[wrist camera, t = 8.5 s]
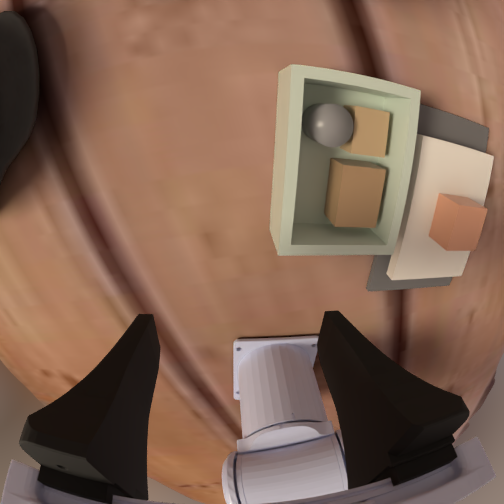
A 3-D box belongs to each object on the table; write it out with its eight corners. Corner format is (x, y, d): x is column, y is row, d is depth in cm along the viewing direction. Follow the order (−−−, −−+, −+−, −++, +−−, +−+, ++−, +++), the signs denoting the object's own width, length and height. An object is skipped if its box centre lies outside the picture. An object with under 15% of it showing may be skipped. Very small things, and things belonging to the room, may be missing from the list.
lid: (451, 266, 24) (476, 290, 20) (382, 268, 23) (405, 298, 20) (480, 151, 19) (514, 164, 15) (409, 131, 18) (445, 142, 14)
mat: (446, 282, 26) (449, 285, 25) (366, 288, 25) (368, 291, 24) (485, 127, 18) (488, 128, 18) (400, 99, 17) (403, 99, 17)
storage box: (369, 230, 22) (393, 254, 19) (269, 228, 22) (278, 255, 18) (389, 89, 17) (420, 90, 14) (278, 71, 16) (291, 63, 13)
